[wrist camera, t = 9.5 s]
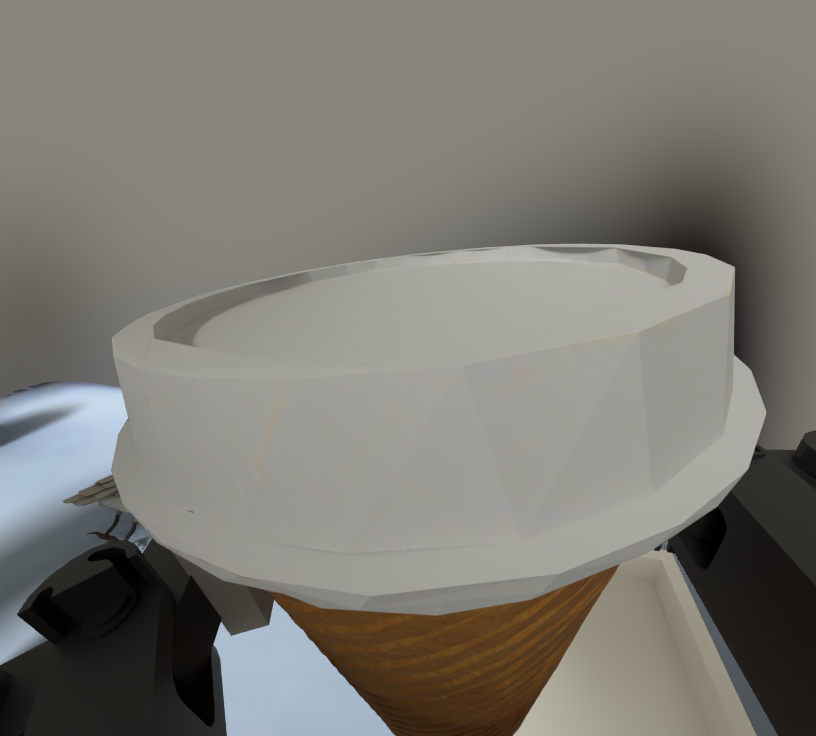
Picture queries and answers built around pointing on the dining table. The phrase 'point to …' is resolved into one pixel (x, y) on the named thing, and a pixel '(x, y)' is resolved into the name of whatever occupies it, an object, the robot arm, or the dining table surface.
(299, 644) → the dining table surface
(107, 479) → the decorative bird
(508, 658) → the disposable coffee cup
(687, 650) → the dish
